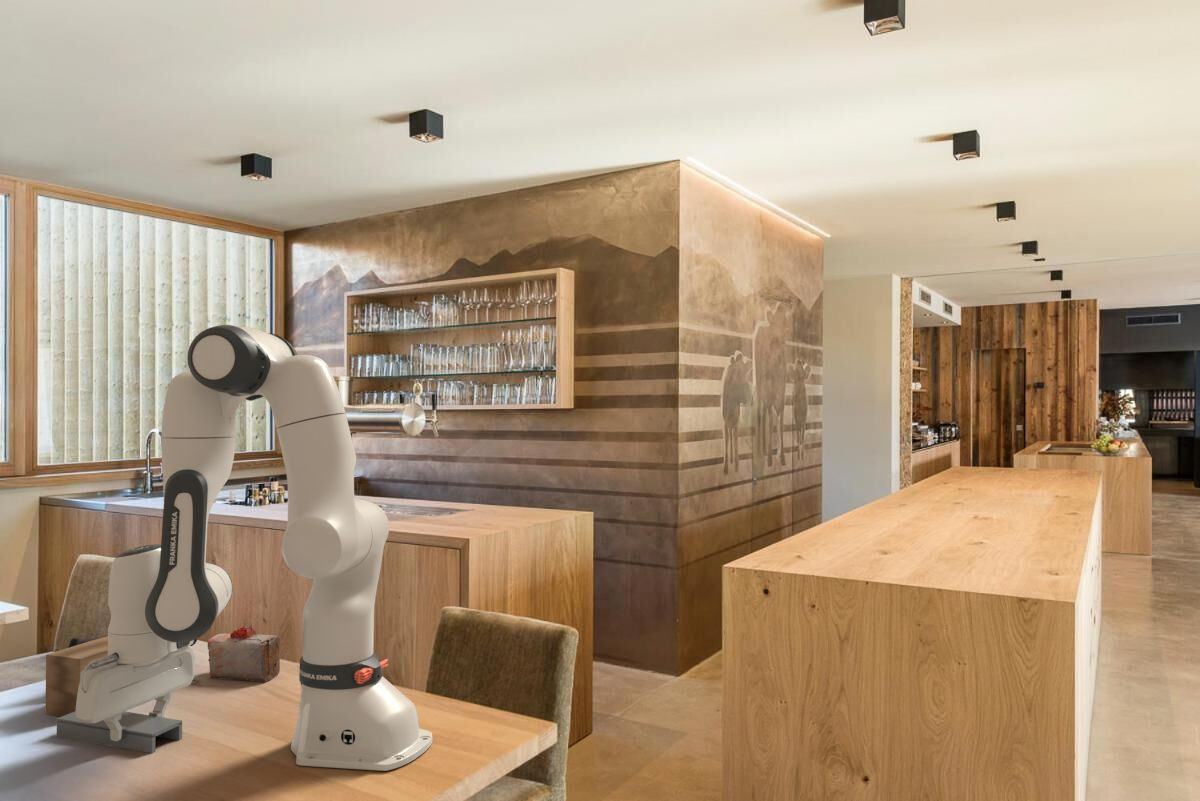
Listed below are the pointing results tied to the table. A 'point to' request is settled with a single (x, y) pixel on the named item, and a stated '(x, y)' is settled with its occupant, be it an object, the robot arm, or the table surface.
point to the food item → (244, 655)
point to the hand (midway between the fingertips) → (137, 730)
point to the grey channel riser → (138, 726)
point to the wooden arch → (69, 674)
